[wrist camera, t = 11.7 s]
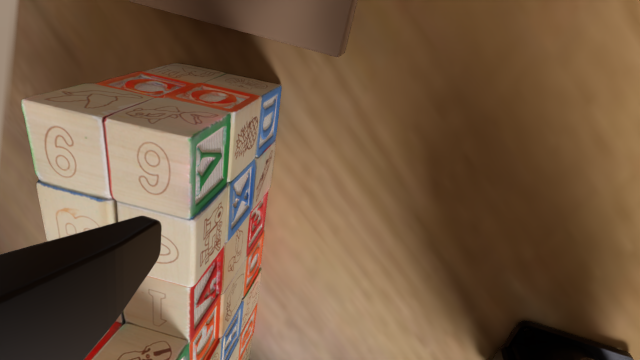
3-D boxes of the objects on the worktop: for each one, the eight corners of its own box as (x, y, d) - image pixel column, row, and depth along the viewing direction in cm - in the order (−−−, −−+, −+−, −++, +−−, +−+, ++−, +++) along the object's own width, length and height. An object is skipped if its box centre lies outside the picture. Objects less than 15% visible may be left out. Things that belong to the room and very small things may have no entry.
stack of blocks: (173, 58, 21) (-92, 118, 10) (285, 82, 20) (134, 175, 9) (175, 339, 30) (41, 531, 19) (251, 362, 29) (157, 575, 18)
